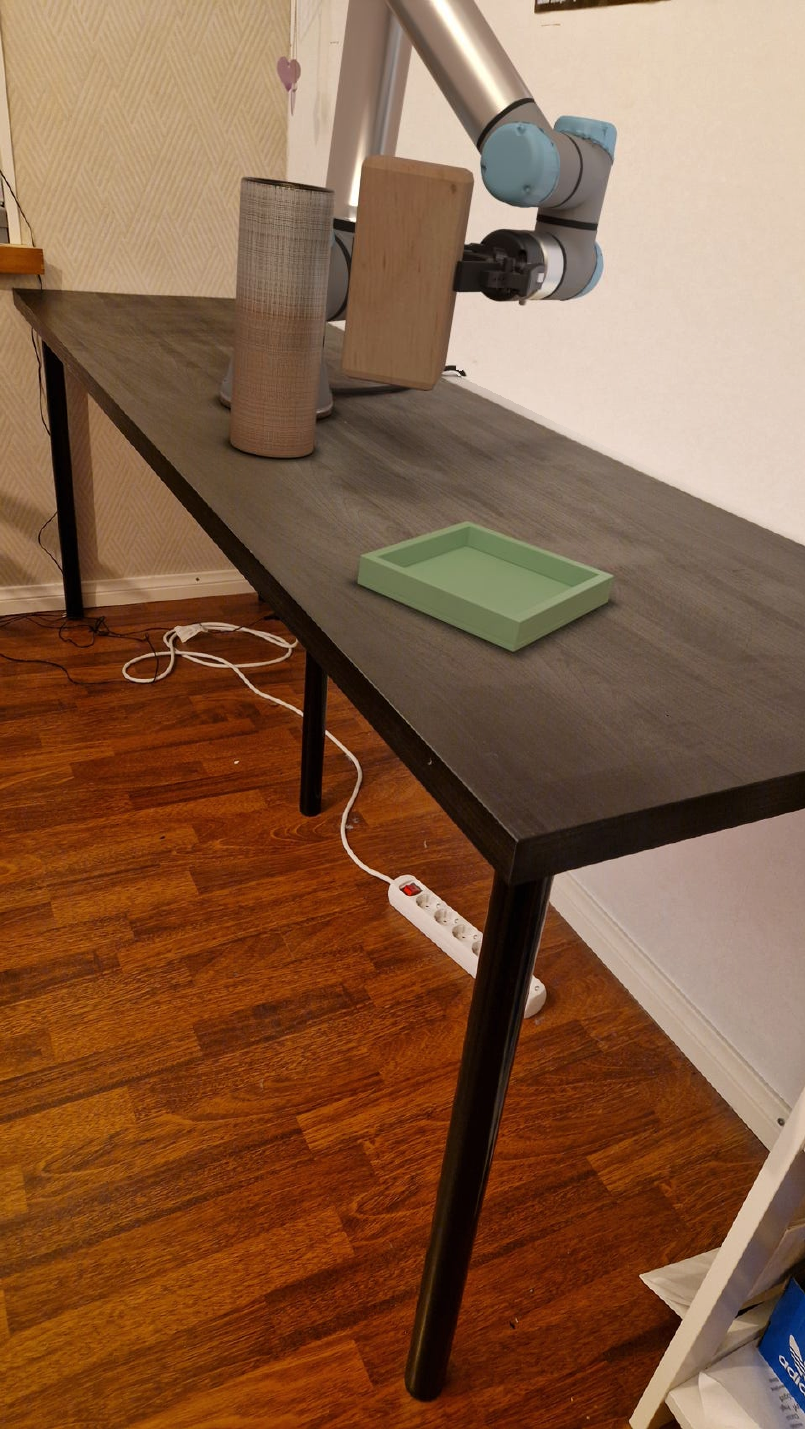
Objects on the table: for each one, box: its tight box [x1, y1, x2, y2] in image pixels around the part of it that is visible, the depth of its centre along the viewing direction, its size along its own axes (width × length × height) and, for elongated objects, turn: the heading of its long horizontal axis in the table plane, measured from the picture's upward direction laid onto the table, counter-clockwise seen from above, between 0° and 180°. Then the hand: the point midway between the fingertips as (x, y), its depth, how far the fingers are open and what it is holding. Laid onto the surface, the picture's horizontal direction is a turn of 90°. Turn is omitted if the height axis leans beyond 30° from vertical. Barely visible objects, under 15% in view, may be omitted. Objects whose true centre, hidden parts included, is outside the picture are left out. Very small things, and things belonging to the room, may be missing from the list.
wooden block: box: [340, 155, 475, 392], centre depth 97 cm, size 10×10×20 cm
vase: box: [229, 176, 335, 460], centre depth 108 cm, size 10×10×28 cm
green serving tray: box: [356, 520, 615, 653], centre depth 84 cm, size 16×16×3 cm
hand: (404, 263), depth 96 cm, fingers closed on wooden block, 13 cm apart
